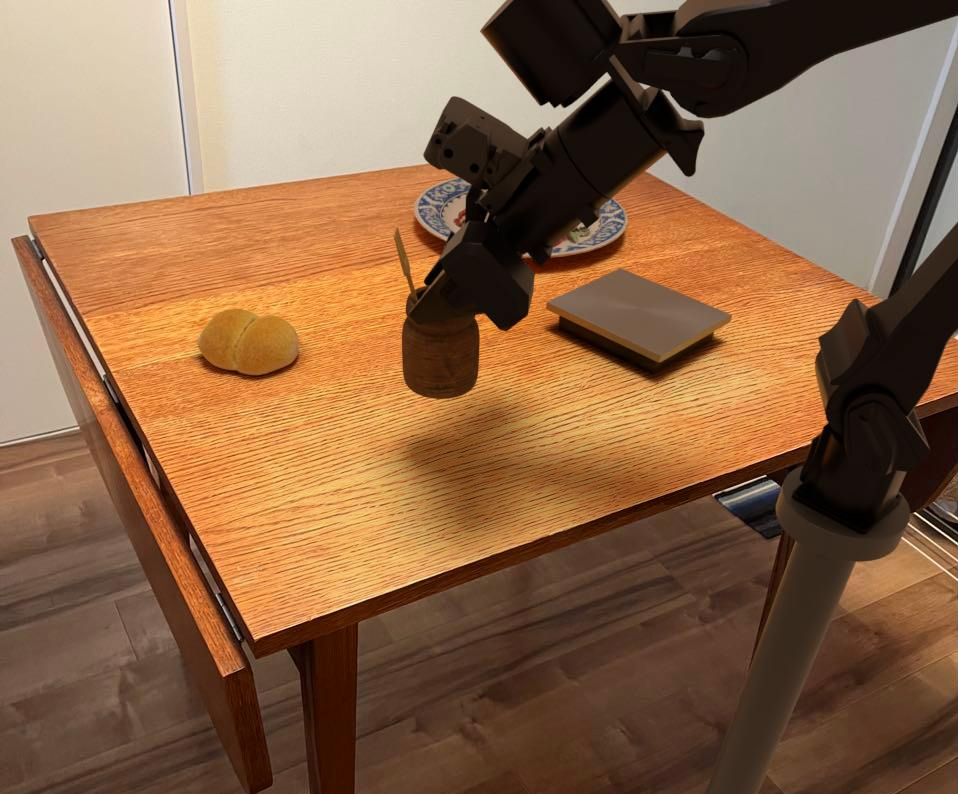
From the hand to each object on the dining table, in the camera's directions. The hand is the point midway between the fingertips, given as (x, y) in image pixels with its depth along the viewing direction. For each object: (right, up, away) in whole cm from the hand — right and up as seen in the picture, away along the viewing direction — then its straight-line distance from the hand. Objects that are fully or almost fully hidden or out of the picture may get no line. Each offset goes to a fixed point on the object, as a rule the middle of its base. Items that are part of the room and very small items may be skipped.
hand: (420, 302), depth 68 cm
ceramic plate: (+9, +20, +44) cm, 50 cm away
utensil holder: (+1, -5, +4) cm, 7 cm away
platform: (+20, +3, +25) cm, 32 cm away
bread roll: (-17, 0, +19) cm, 26 cm away
